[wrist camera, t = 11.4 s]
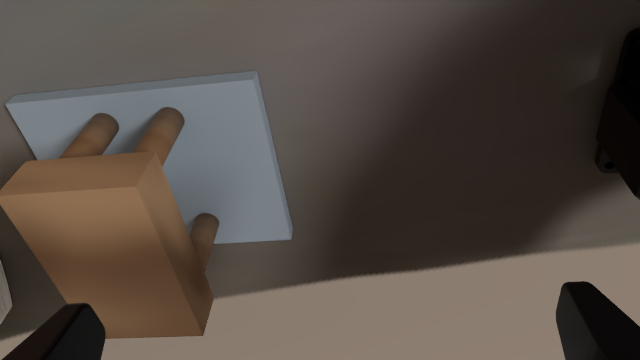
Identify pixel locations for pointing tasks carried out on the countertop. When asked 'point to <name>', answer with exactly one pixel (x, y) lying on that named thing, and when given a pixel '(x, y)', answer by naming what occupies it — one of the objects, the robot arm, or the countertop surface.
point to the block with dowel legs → (117, 231)
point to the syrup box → (4, 295)
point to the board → (181, 145)
